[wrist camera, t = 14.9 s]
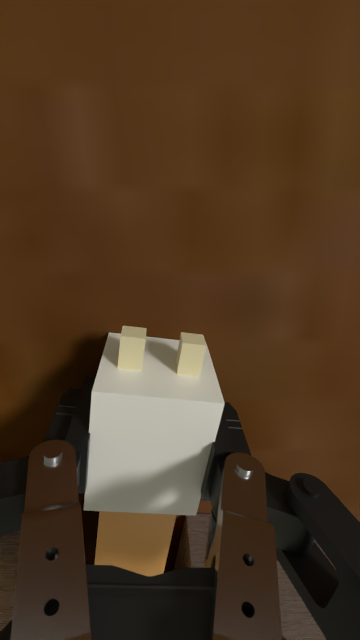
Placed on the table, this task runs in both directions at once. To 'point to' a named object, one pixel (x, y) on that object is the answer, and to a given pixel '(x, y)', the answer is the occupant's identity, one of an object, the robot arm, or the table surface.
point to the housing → (295, 616)
